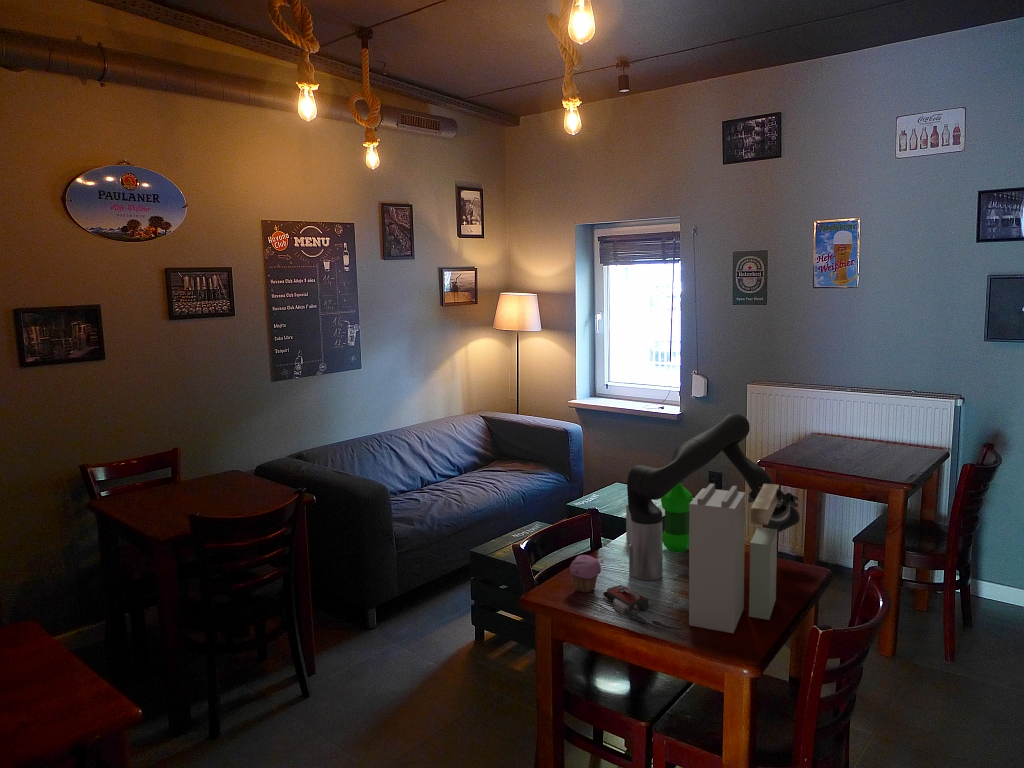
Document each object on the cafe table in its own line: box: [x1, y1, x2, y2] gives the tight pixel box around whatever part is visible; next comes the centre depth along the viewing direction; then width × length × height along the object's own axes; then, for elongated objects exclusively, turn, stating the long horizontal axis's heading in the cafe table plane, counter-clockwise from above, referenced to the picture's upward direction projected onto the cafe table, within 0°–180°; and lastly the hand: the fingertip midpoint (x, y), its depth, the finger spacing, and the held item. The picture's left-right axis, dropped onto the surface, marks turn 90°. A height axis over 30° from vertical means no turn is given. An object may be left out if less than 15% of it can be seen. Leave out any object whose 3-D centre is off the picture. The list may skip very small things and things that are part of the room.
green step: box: [748, 526, 778, 621], centre depth 190 cm, size 5×13×20 cm, turn 153°
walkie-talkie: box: [602, 584, 649, 624], centre depth 194 cm, size 9×4×20 cm
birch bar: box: [750, 483, 780, 526], centre depth 190 cm, size 4×23×4 cm, turn 153°
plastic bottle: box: [660, 479, 694, 554], centre depth 234 cm, size 10×10×25 cm
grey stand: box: [688, 483, 746, 634], centre depth 185 cm, size 11×15×34 cm
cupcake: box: [569, 554, 602, 593], centre depth 206 cm, size 9×9×10 cm
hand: (769, 491), depth 195 cm, fingers closed on birch bar, 4 cm apart
